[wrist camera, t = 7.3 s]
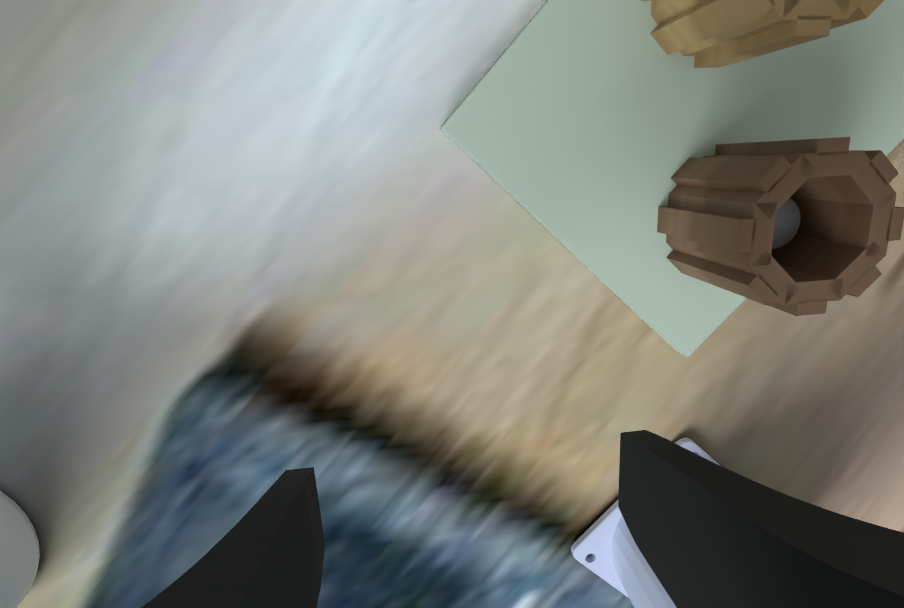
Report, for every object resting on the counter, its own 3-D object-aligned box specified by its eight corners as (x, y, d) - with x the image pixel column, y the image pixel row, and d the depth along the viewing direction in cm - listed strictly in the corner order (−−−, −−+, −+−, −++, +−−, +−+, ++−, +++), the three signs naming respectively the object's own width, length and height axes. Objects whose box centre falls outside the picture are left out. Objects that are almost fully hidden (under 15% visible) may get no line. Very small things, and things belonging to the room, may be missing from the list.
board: (931, 84, 21) (1056, 65, 17) (672, 348, 23) (731, 387, 19) (726, -212, 18) (823, -321, 14) (439, 128, 20) (452, 119, 16)
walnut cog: (811, 208, 21) (935, 221, 16) (714, 306, 22) (806, 347, 17) (730, 112, 20) (840, 96, 15) (630, 221, 20) (704, 239, 15)
